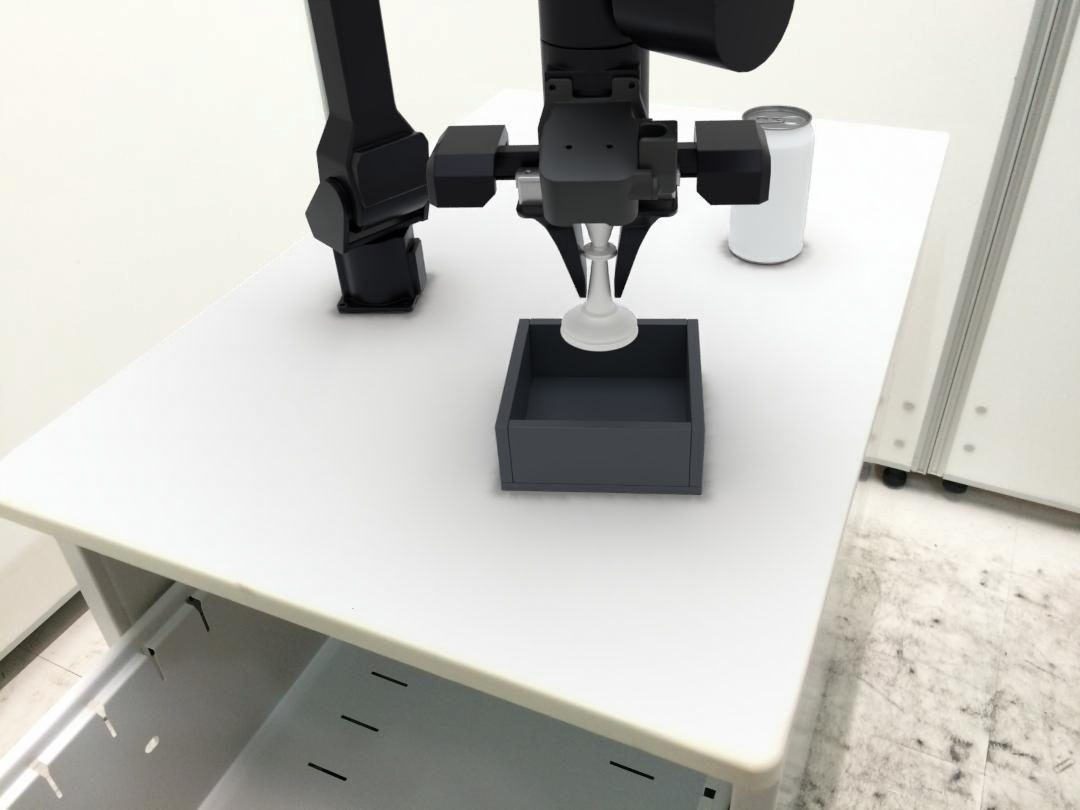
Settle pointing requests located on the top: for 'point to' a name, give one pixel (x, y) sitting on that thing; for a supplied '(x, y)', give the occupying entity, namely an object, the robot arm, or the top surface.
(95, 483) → the top surface
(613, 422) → the dark grey storage bin
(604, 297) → the chess piece
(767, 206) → the can
